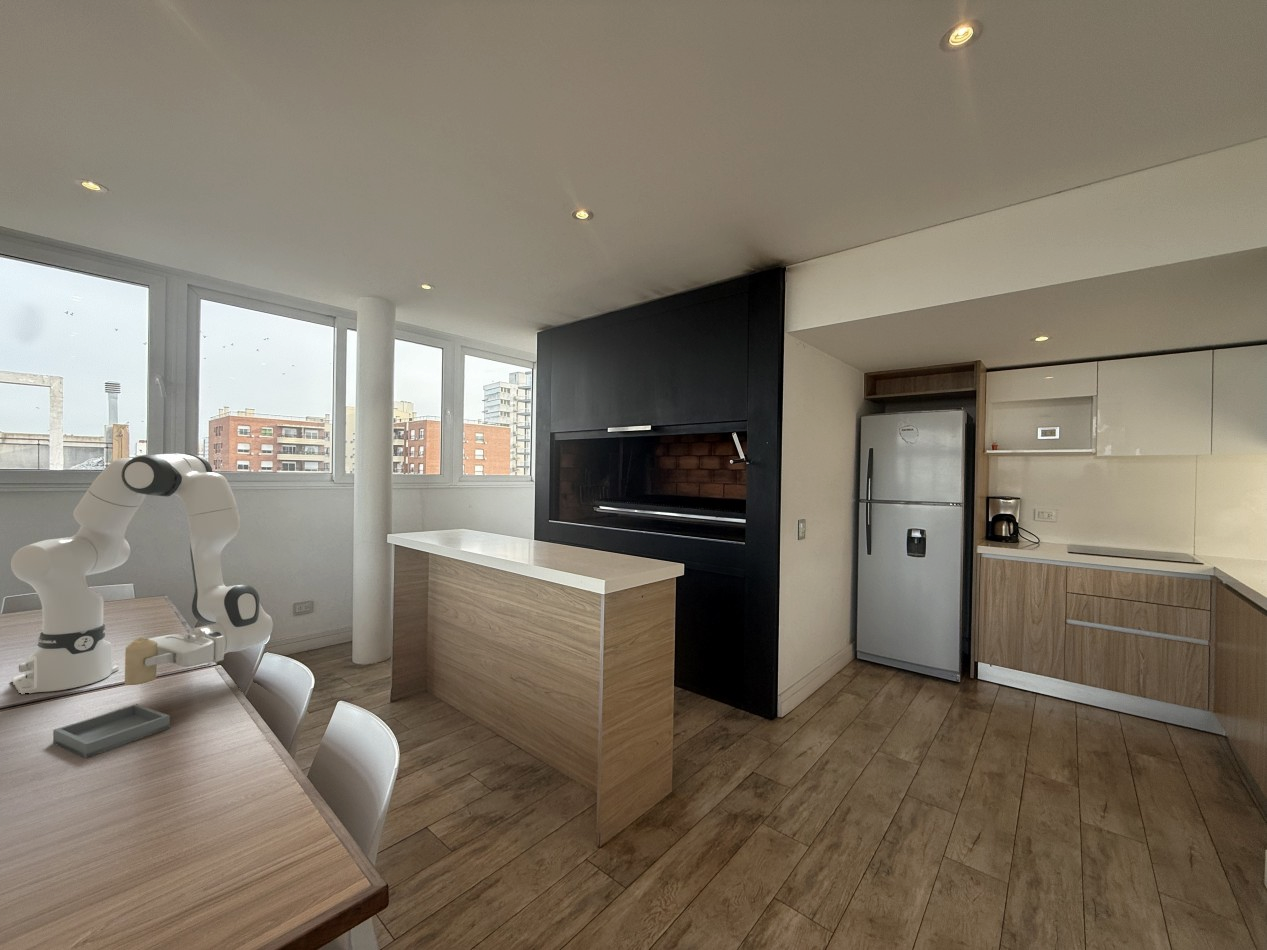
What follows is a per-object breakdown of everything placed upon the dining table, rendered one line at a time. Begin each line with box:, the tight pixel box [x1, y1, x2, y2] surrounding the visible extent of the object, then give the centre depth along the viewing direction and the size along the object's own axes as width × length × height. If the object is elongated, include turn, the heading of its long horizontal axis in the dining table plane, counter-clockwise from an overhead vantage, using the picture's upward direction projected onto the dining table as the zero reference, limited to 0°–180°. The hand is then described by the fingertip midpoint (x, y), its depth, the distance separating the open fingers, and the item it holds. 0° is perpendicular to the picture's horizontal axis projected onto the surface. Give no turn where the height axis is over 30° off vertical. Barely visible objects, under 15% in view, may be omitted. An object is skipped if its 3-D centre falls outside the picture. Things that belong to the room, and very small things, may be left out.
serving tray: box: [52, 703, 171, 759], centre depth 111 cm, size 14×14×3 cm
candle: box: [124, 637, 158, 686], centre depth 123 cm, size 6×6×10 cm
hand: (136, 659), depth 123 cm, fingers closed on candle, 5 cm apart
